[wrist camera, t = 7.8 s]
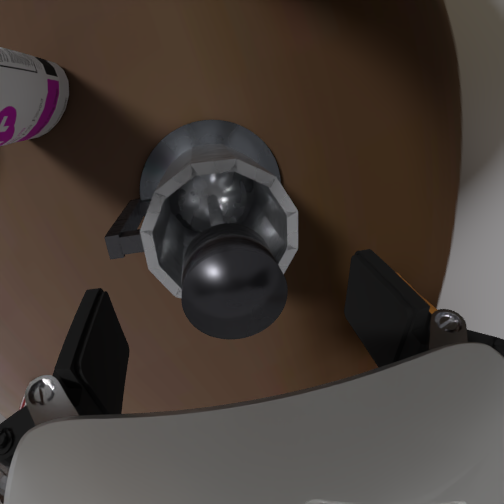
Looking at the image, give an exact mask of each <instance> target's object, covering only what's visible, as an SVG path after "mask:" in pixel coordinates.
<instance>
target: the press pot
mask: <svg viewBox="0 0 504 504" xmlns="http://www.w3.org/2000/svg"><path fill="white" fill-rule="evenodd" d="M232 171H233V172H234V173H235V174H236V175H237V176H238V177H239V178H240V179H241V181H242V182H243V184H244V186H245V189H246V194H247V203H246V207H245V210H244V213H243V214H242V216H241V218H240V219H239V220H238V221H237V222H236V223H235V224H240V225H244V226H247V227H249V228H251V229H253V230H254V231H256V232H257V233H258V234H259V235H260V236H261V237H262V238H263V239H264V240H265V242H266V244H267V245H268V247H269V249H270V251H271V253H272V254H273V256H274V258H275V260H276V262H277V263H278V265H279V267H280V269H281V271H282V272H283V274H284V273H285V271H286V269H287V268H288V266H289V264H290V262H291V260H292V259H293V257H294V255H295V253H296V252H297V250H298V210H297V209H296V207H295V205H294V204H293V202H292V201H291V199H290V198H289V196H288V194H287V193H286V191H285V190H284V188H283V187H282V185H281V180H280V173H279V169H278V166H277V163H276V160H275V158H274V156H273V155H272V153H271V151H270V150H269V148H268V147H267V146H266V144H265V143H264V142H263V141H262V140H261V139H260V138H259V137H258V136H257V135H255V134H254V133H253V132H251V131H250V130H248V129H246V128H244V127H242V126H240V125H237V124H235V123H231V122H227V121H221V120H203V121H197V122H193V123H190V124H187V125H184V126H182V127H180V128H178V129H176V130H174V131H173V132H171V133H170V134H168V135H167V136H166V137H165V138H164V139H162V140H161V141H160V142H159V143H158V145H157V146H156V147H155V148H154V149H153V151H152V152H151V154H150V156H149V157H148V159H147V161H146V163H145V166H144V169H143V172H142V176H141V182H140V198H139V199H133V200H130V202H129V203H128V204H127V206H126V207H125V209H124V210H123V211H122V213H121V214H120V216H119V217H118V218H117V220H116V221H115V223H114V224H113V225H112V227H111V228H110V230H109V231H108V233H107V234H106V236H105V241H106V245H107V249H108V252H109V256H110V259H116V258H123V257H124V256H125V254H131V253H138V252H145V256H146V260H147V264H148V269H149V270H150V271H151V272H152V273H153V274H154V275H155V277H156V278H157V279H158V280H159V281H160V282H161V283H162V284H163V285H164V286H165V287H166V288H167V289H168V290H169V291H170V292H171V293H172V294H173V295H174V296H175V297H178V298H181V299H182V273H183V259H184V254H185V251H186V249H187V247H188V245H189V244H190V242H191V241H192V240H193V239H194V238H195V236H197V235H198V234H199V233H200V232H202V231H201V230H198V229H196V228H194V227H193V226H191V225H190V224H189V223H188V222H187V221H186V220H185V219H184V217H183V216H182V214H181V211H180V208H179V202H178V199H179V192H180V188H181V186H182V185H184V184H185V183H186V182H188V181H189V180H190V179H192V178H193V177H194V176H199V175H206V174H215V173H223V172H232ZM143 216H145V219H144V221H143V224H142V227H141V229H138V230H137V228H138V226H139V224H140V222H141V220H142V218H143Z"/></svg>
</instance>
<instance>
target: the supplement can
mask: <svg viewBox="0 0 504 504" xmlns="http://www.w3.org/2000/svg"><path fill="white" fill-rule="evenodd" d="M68 97H69V81H68V79H67V76H66V74H65V72H64V70H63V69H62V68H61V67H60V66H59V65H57V64H56V63H54V62H51V61H47V60H44V59H41V58H38V57H34V56H31V55H27V54H24V53H20V52H17V51H13V50H9V49H5V48H1V47H0V146H3V145H7V144H11V143H15V142H19V141H24V140H28V139H33V138H38V137H40V136H42V135H44V134H46V133H47V132H49V131H50V130H51V129H52V128H53V127H54V126H55V125H56V124H57V123H58V122H59V120H60V118H61V117H62V115H63V113H64V111H65V109H66V106H67V101H68Z"/></svg>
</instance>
